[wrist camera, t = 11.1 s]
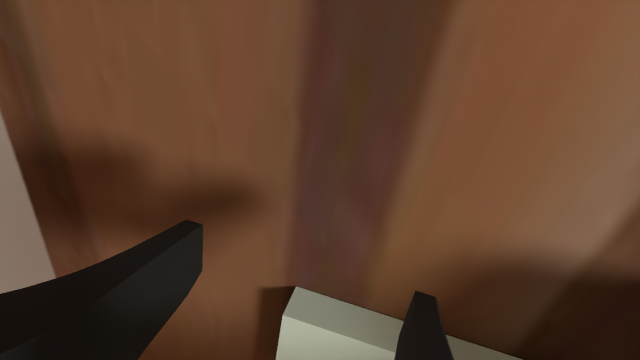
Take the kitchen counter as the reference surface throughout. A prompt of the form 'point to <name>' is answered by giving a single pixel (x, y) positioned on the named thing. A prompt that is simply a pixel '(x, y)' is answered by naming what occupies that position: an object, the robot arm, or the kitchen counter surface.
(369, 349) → the socket board
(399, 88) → the kitchen counter surface
